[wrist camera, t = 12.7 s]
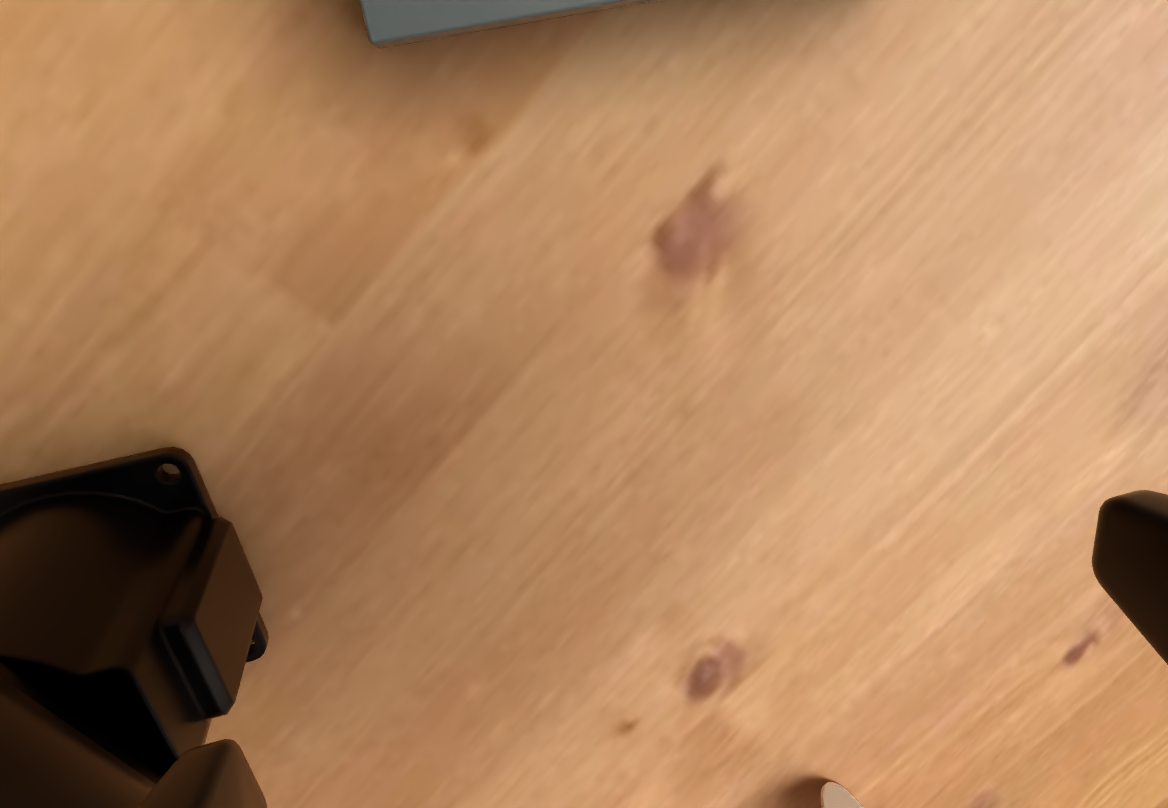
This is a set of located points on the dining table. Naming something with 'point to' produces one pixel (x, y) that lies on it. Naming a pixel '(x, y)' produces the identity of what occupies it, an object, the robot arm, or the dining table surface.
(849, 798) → the sunglasses
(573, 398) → the dining table surface
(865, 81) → the dining table surface
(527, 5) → the shelf
